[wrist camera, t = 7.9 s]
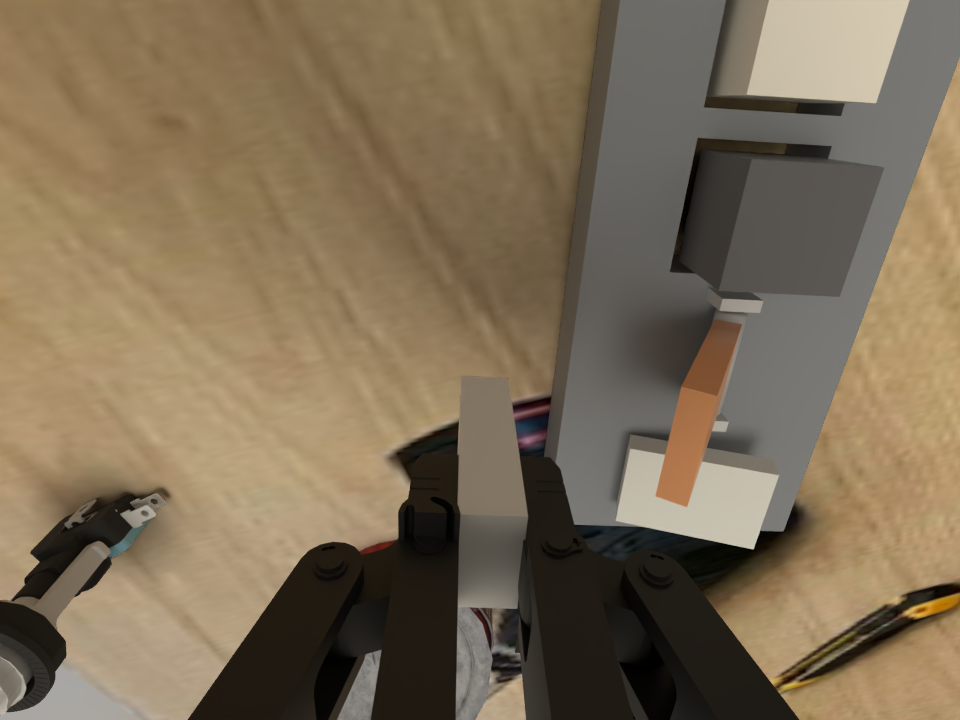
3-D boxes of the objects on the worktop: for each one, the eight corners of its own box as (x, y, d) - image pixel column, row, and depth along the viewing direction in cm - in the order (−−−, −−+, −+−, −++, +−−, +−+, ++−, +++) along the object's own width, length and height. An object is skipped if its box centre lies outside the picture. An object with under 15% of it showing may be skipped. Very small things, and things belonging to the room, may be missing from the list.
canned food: (342, 550, 38) (233, 628, 29) (458, 489, 35) (377, 556, 25) (421, 702, 37) (333, 836, 28) (548, 655, 34) (498, 789, 24)
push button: (134, 455, 29) (-20, 617, 20) (199, 526, 31) (87, 702, 22) (37, 502, 30) (-150, 675, 21) (107, 567, 32) (-36, 750, 23)
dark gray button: (701, 149, 21) (751, 159, 17) (811, 156, 21) (884, 167, 17) (678, 260, 22) (718, 291, 19) (779, 265, 22) (839, 296, 19)
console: (617, -121, 19) (656, -180, 15) (950, -94, 20) (1072, -144, 16) (540, 485, 30) (551, 543, 26) (755, 493, 31) (798, 551, 27)
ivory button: (725, -38, 19) (785, -70, 16) (842, -29, 19) (928, -59, 16) (698, 95, 21) (746, 94, 17) (806, 103, 21) (876, 103, 18)
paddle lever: (717, 305, 23) (679, 379, 16) (748, 311, 22) (722, 390, 16) (694, 399, 25) (651, 500, 18) (722, 407, 24) (689, 513, 17)
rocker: (630, 434, 25) (630, 448, 24) (772, 459, 24) (779, 475, 23) (616, 504, 27) (615, 520, 26) (748, 531, 26) (753, 549, 24)
